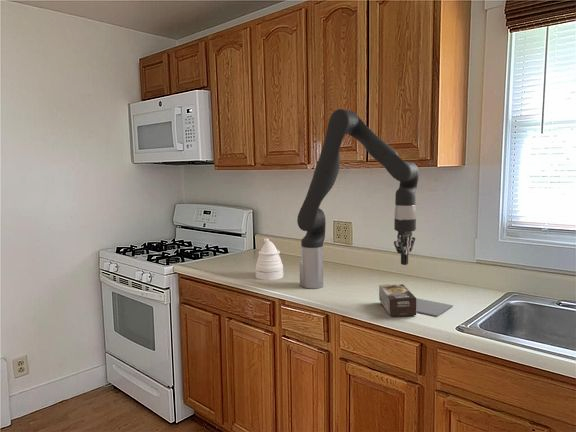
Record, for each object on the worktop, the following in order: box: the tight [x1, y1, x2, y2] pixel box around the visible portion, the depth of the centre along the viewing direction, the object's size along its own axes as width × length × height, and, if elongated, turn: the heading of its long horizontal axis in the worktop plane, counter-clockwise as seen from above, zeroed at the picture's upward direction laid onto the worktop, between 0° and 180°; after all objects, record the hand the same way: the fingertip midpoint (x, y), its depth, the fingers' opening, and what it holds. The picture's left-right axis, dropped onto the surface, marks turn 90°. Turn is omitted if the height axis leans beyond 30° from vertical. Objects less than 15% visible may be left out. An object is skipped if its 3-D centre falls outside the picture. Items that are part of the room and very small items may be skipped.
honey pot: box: [255, 237, 284, 281], centre depth 205 cm, size 13×13×18 cm
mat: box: [416, 297, 454, 318], centre depth 159 cm, size 16×14×1 cm
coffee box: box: [378, 283, 417, 318], centre depth 156 cm, size 9×6×16 cm
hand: (404, 264), depth 162 cm, fingers closed
